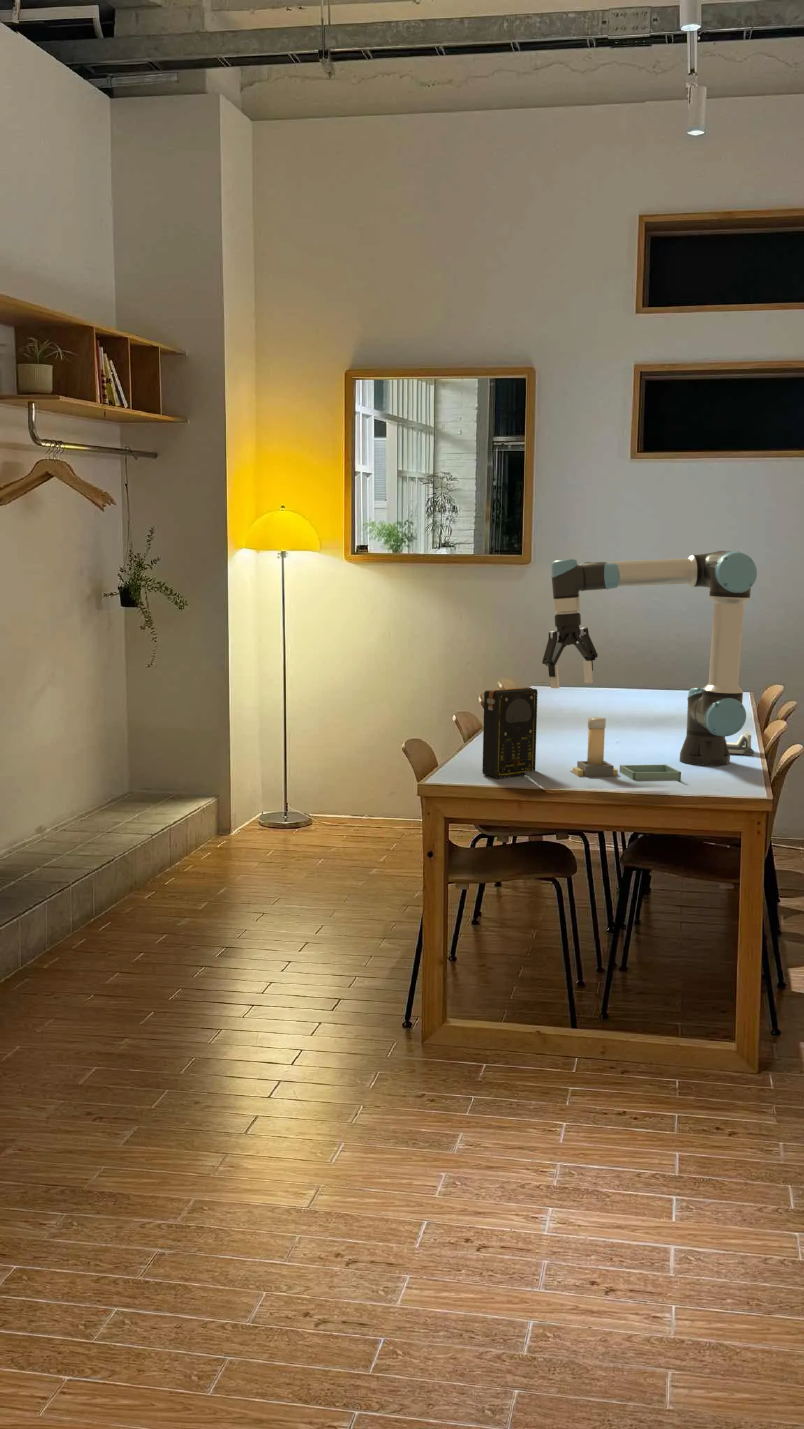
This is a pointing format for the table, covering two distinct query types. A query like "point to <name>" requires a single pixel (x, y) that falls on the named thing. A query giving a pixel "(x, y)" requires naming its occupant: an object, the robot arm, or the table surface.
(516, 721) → the voltmeter
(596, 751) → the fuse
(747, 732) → the phone holder
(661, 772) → the tray
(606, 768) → the fuse holder
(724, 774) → the table surface
